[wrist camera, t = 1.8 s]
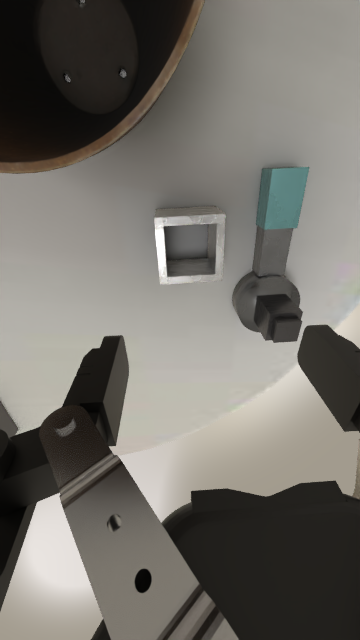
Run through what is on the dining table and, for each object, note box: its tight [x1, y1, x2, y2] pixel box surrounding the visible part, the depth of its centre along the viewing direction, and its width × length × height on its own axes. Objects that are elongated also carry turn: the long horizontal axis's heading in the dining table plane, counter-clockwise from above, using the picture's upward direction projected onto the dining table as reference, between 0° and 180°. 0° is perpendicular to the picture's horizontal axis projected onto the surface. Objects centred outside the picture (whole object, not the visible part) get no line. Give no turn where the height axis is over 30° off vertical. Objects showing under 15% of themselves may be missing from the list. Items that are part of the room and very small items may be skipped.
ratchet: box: [232, 167, 309, 343], centre depth 24 cm, size 17×7×8 cm, turn 2°
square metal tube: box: [154, 206, 226, 285], centre depth 24 cm, size 6×6×5 cm
